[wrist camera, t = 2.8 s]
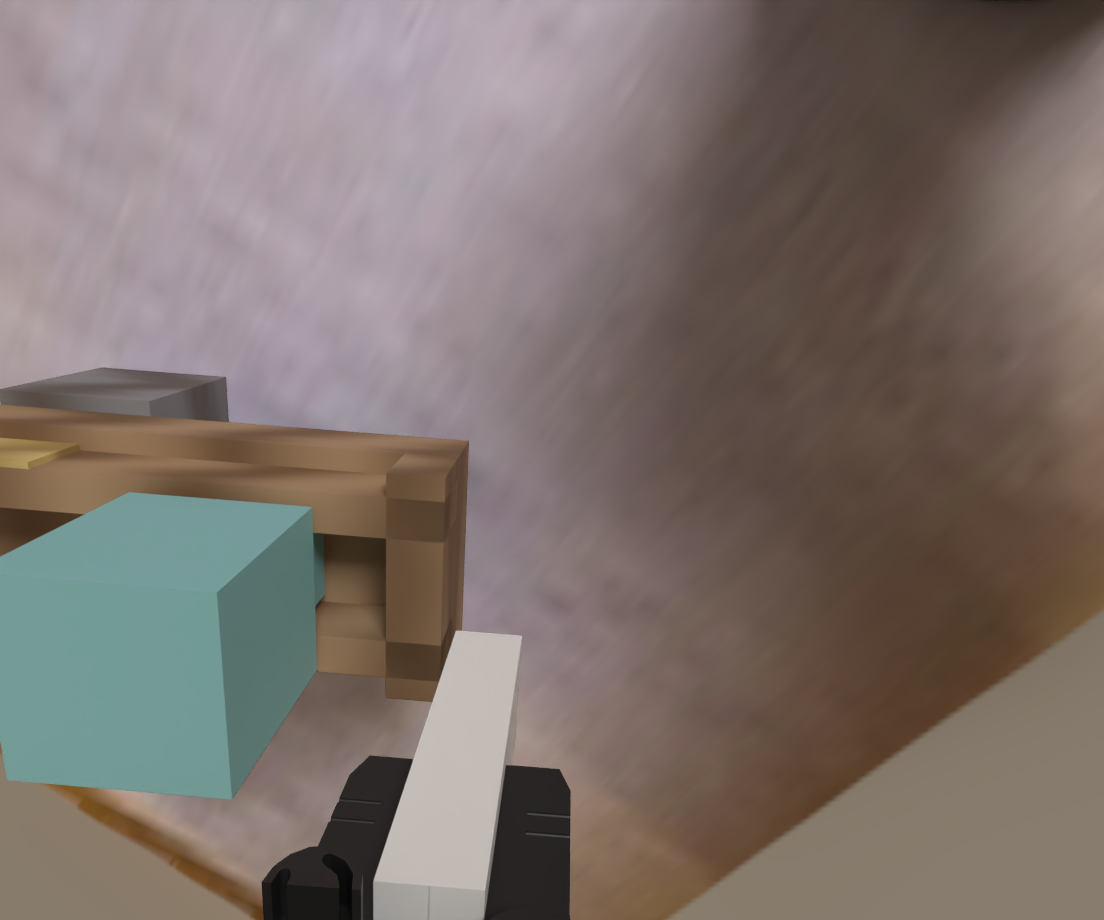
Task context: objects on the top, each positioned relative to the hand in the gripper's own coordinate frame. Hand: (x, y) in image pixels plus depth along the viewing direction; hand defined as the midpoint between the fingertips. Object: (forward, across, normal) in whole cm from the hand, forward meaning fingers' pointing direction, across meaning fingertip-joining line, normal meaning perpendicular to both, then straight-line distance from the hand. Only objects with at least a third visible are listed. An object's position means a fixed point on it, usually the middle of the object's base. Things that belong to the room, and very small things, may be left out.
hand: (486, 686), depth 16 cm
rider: (+6, -8, 0) cm, 10 cm away
